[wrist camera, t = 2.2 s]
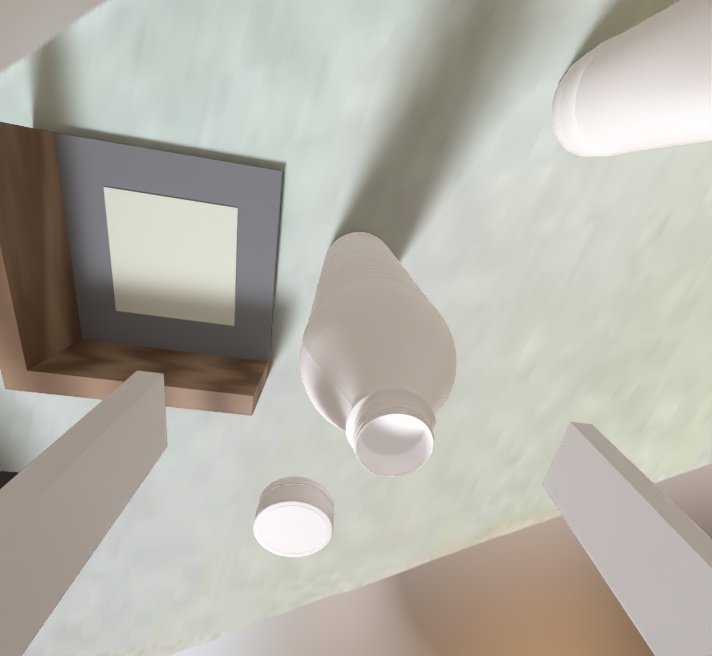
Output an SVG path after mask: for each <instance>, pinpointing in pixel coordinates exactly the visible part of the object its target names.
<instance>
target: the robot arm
mask: <svg viewBox="0 0 712 656" xmlns="http://www.w3.org/2000/svg"><path fill="white" fill-rule="evenodd" d="M166 448H167V429H166V411H165V392H164V374H162V373H154V372H145V371H136V372H135V373H134V374H133V375H131V376H130V377H129V378H128V379H127V380H126V381H125V382H123V383H122V384H121V385H120V386H119V387H118V388H116V389H115V390H114V391H113V392H112V393H111V394H110V395H108V396H107V397H106V398H105V399H104V400H103V401H101V402H100V403H99V404H98V405H97V406H96V407H95V408H93V409H92V410H91V411H90V412H89V413H88V414H86V415H85V416H84V417H83V418H82V419H81V420H80V421H78V422H77V423H76V424H75V425H74V426H73V427H71V428H70V429H69V430H68V431H67V432H66V433H65V434H63V435H62V436H61V437H60V438H59V439H58V440H56V441H55V442H54V443H53V444H52V445H51V446H50V447H48V448H47V449H46V450H45V451H44V452H43V453H42V454H40V455H39V456H38V457H37V458H36V459H35V460H33V461H32V462H31V463H30V464H29V465H28V466H27V467H25V468H24V469H23V470H22V471H21V472H20V473H16V472H6V471H1V472H0V656H22V654H23V653H24V652H25V650H26V649H27V647H28V646H29V644H30V643H31V642H32V640H33V639H34V637H35V636H36V634H37V633H38V631H39V630H40V629H41V627H42V626H43V624H44V623H45V621H46V620H47V619H48V617H49V616H50V614H51V613H52V611H53V610H54V608H55V607H56V606H57V604H58V603H59V601H60V600H61V598H62V597H63V596H64V594H65V593H66V591H67V590H68V588H69V587H70V585H71V584H72V583H73V581H74V580H75V578H76V577H77V575H78V574H79V573H80V571H81V570H82V568H83V567H84V565H85V564H86V562H87V561H88V560H89V558H90V557H91V555H92V554H93V552H94V551H95V550H96V548H97V547H98V545H99V544H100V542H101V541H102V540H103V538H104V537H105V535H106V534H107V532H108V531H109V529H110V528H111V527H112V525H113V524H114V522H115V521H116V519H117V518H118V517H119V515H120V514H121V512H122V511H123V509H124V508H125V506H126V505H127V504H128V502H129V501H130V499H131V498H132V496H133V495H134V494H135V492H136V491H137V489H138V488H139V486H140V485H141V483H142V482H143V481H144V479H145V478H146V476H147V475H148V473H149V472H150V471H151V469H152V468H153V466H154V465H155V463H156V462H157V460H158V459H159V458H160V456H161V455H162V453H163V452H164V450H165V449H166ZM542 486H543V487H544V489H545V490H546V492H547V493H548V495H549V496H550V498H551V499H552V501H553V502H554V504H555V505H556V507H557V508H558V510H559V511H560V513H561V514H562V516H563V517H564V519H565V521H566V522H567V524H568V525H569V527H570V528H571V530H572V531H573V533H574V534H575V536H576V537H577V539H578V540H579V542H580V543H581V545H582V546H583V547H584V549H585V551H586V552H587V554H588V555H589V557H590V558H591V560H592V561H593V563H594V564H595V565H596V567H597V569H598V570H599V572H600V573H601V575H602V576H603V578H604V579H605V581H606V582H607V584H608V585H609V587H610V588H611V590H612V591H613V593H614V595H615V596H616V598H617V599H618V600H619V602H620V603H621V605H622V607H623V608H624V610H625V611H626V613H627V614H628V616H629V617H630V618H631V620H632V622H633V623H634V625H635V626H636V628H637V629H638V631H639V632H640V634H641V635H642V637H643V638H644V640H645V641H646V643H647V644H648V646H649V647H650V649H651V650H652V652H653V653H654V655H655V656H712V538H710V537H709V536H708V535H707V534H706V533H705V532H704V531H703V530H701V528H699V527H698V526H697V525H696V524H695V523H694V522H693V521H692V520H691V519H690V518H689V517H688V516H687V515H686V514H685V513H684V512H683V511H682V510H681V509H680V508H679V507H677V506H676V505H675V504H674V503H673V502H672V501H671V500H670V499H669V498H668V497H667V496H666V495H665V494H664V493H663V492H662V491H661V490H660V489H659V488H658V487H657V486H655V484H654V483H652V482H651V481H650V480H649V479H648V478H647V477H646V476H645V475H644V474H643V473H642V472H641V471H640V470H639V469H638V468H637V467H636V466H635V465H634V464H633V463H632V462H631V461H629V460H628V459H627V458H626V457H625V456H624V455H623V454H622V453H621V452H620V451H619V450H618V449H617V448H616V447H615V446H614V445H613V444H612V443H611V442H610V441H609V440H608V439H606V438H605V437H604V436H603V435H602V434H601V433H600V432H599V431H598V430H597V429H596V428H595V427H594V426H593V425H592V424H583V423H575V422H570V424H569V426H568V428H567V431H566V433H565V435H564V437H563V439H562V441H561V444H560V446H559V448H558V450H557V452H556V455H555V457H554V459H553V461H552V463H551V465H550V468H549V470H548V472H547V474H546V476H545V478H544V481H543V483H542Z"/></svg>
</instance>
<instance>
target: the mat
mask: <svg viewBox="0 0 712 656" xmlns="http://www.w3.org/2000/svg"><path fill="white" fill-rule="evenodd" d="M53 135H54V142H55V149H56V156H57V164H58V171H59V178H60V185H61V192H62V199H63V206H64V213H65V220H66V227H67V234H68V241H69V248H70V255H71V262H72V269H73V276H74V283H75V291H76V298H77V305H78V312H79V319H80V326H81V333H82V339H85V340H94V341H102V342H110V343H118V344H127V345H135V346H143V347H151V348H160V349H168V350H176V351H184V352H192V353H201V354H209V355H217V356H225V357H234V358H242V359H250V360H258V361H267V362H268V361H269V358H270V345H271V331H272V317H273V303H274V289H275V275H276V262H277V248H278V234H279V220H280V206H281V193H282V179H283V171H278V170H272V169H266V168H261V167H255V166H249V165H243V164H237V163H231V162H225V161H219V160H213V159H207V158H201V157H196V156H190V155H184V154H178V153H172V152H166V151H160V150H154V149H148V148H142V147H136V146H131V145H125V144H119V143H113V142H107V141H101V140H95V139H89V138H83V137H77V136H71V135H65V134H60V133H54V132H53Z"/></svg>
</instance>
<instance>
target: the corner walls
mask: <svg viewBox="0 0 712 656" xmlns="http://www.w3.org/2000/svg"><path fill="white" fill-rule="evenodd" d="M0 369H1V373H2V377H3V381H4V385H5V389H9V390H18V391H28V392H37V393H46V394H56V395H65V396H74V397H84V398H93V399H102V400H104V399H105V398H106V397H107V396H108V395H110V394H111V393H112V392H113V391H114V390H115V389H116V388H118V387H119V386H120V385H121V384H122V383H123V382H125V381H126V380H127V379H128V378H129V377H130V376H131V375H133V374H134V373H135V372H136V371H145V372H154V373H162V374H164V392H165V406H167V407H177V408H186V409H195V410H205V411H214V412H223V413H232V414H242V415H251V416H252V415H253V412H254V410H255V407H256V405H257V402H258V400H259V397H260V395H261V392H262V390H263V387H264V385H265V383H266V380H267V378H268V372H269V361H268V362H267V361H258V360H250V359H242V358H234V357H225V356H217V355H209V354H201V353H192V352H184V351H176V350H168V349H160V348H151V347H143V346H135V345H127V344H118V343H110V342H102V341H94V340H85V339H82V333H81V326H80V319H79V312H78V305H77V298H76V291H75V283H74V276H73V269H72V262H71V255H70V248H69V241H68V234H67V227H66V220H65V213H64V206H63V199H62V192H61V185H60V178H59V171H58V164H57V156H56V149H55V142H54V135H53V132H49V131H44V130H39V129H34V128H29V127H24V126H19V125H14V124H9V123H4V122H0Z"/></svg>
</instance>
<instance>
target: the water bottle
mask: <svg viewBox="0 0 712 656" xmlns="http://www.w3.org/2000/svg"><path fill="white" fill-rule="evenodd" d="M300 368H301V375H302V380H303V383H304V386H305V389H306V391H307V394H308V396H309V398H310V400H311V401H312V403H313V405H314V406H315V407H316V409H317V410H318V411H319V412H320V414H321V415H322V416H323V417H324V418H326V419H327V420H328V421H329V422H330V423H332V424H333V425H335V426H336V427H338V428H339V429H341V430H343V431H345V432H346V436H347V439H348V441H349V443H350V445H351V446H352V448H353V449H354V452H355V453H356V456H357V458H358V460H359V462H360V463H361V464H362V465H363V466H364V467H365V468H366V469H367V470H369V471H370V472H372V473H374V474H377V475H380V476H386V477H398V476H403V475H407V474H410V473H412V472H414V471H416V470H418V469H419V468H420V467H422V466H423V465H424V464H425V463H426V462H427V460H428V459H429V458H430V456H431V454H432V451H433V447H434V432H435V427H436V420H435V415H436V413H437V412H438V411H439V410H440V408H441V407H442V406H443V404H444V403H445V402H446V400H447V399H448V397H449V394H450V392H451V389H452V386H453V383H454V379H455V373H456V350H455V345H454V341H453V337H452V334H451V332H450V329H449V327H448V325H447V323H446V322H445V320H444V318H443V317H442V315H441V314H440V313H439V311H438V310H437V309H436V308H435V307H434V305H433V304H432V303H431V302H430V301H429V300H428V299H427V297H426V296H425V295H424V294H423V292H422V291H421V290H420V288H419V287H418V286H417V285H416V283H415V282H414V281H413V279H412V278H411V277H410V275H409V273H408V272H407V271H406V269H405V268H404V267H403V266H402V264H401V263H400V262H399V261H398V259H397V258H396V257H395V256H394V254H393V253H392V252H391V250H390V249H389V248H388V246H387V245H386V244H385V243H384V242H383V241H382V240H381V239H380V238H378V237H377V236H375V235H373V234H370V233H366V232H352V233H348V234H346V235H343V236H342V237H340V238H338V239H337V240H336V241H335V242H334V243H333V244H332V245H331V247H330V248H329V250H328V252H327V254H326V257H325V260H324V264H323V267H322V271H321V275H320V278H319V283H318V285H317V289H316V295H315V299H314V302H313V306H312V310H311V314H310V317H309V321H308V324H307V327H306V329H305V332H304V336H303V341H302V346H301V353H300ZM285 484H291V485H285ZM298 484H304V485H298ZM283 485H284V486H283ZM305 485H308V486H305ZM278 486H280V487H278ZM309 486H311V487H309ZM276 487H277V488H276ZM312 487H313V488H312ZM315 488H316V489H315ZM317 489H318V490H317ZM270 490H271V491H270ZM319 490H320V491H321V492H320V491H319ZM323 493H324V494H323ZM327 497H328V498H327ZM333 521H334V501H333V497H332V495H331V494H330V492H329V491H328V489H327V488H326V487H324V486H323V485H322V484H320V483H319V482H317V481H314V480H312V479H309V478H304V477H287V478H283V479H280V480H277V481H275V482H273V483H272V484H270V485H269V486H268V487H267V488H266V489H265V490H264V491H263V492H262V494H261V496H260V500H259V503H258V506H257V511H256V515H255V518H254V522H253V531H254V535H255V537H256V539H257V541H258V542H259V543H260V544H261V545H262V546H263V547H264V548H265V549H267V550H269V551H270V552H272V553H275V554H278V555H281V556H287V557H301V556H306V555H310V554H313V553H315V552H317V551H319V550H320V549H322V548H323V547H324V546H325V545H326V544H327V543H328V542H329V540H330V539H331V537H332V534H333Z"/></svg>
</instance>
